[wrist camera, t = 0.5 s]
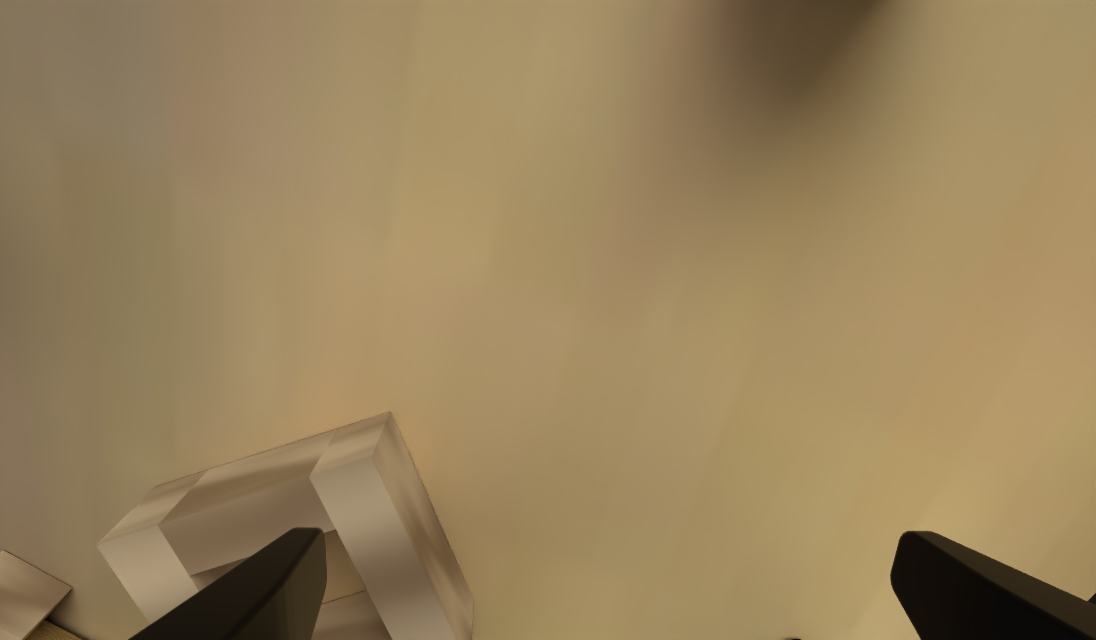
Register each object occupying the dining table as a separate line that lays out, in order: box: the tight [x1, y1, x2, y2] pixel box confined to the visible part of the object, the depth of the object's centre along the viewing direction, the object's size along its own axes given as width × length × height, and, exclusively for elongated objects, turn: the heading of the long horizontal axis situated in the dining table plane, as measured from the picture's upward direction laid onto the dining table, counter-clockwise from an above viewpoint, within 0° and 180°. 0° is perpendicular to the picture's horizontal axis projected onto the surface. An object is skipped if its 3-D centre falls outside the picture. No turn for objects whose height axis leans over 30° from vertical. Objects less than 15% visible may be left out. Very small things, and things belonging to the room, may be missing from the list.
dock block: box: [96, 412, 474, 640], centre depth 22 cm, size 10×10×4 cm
